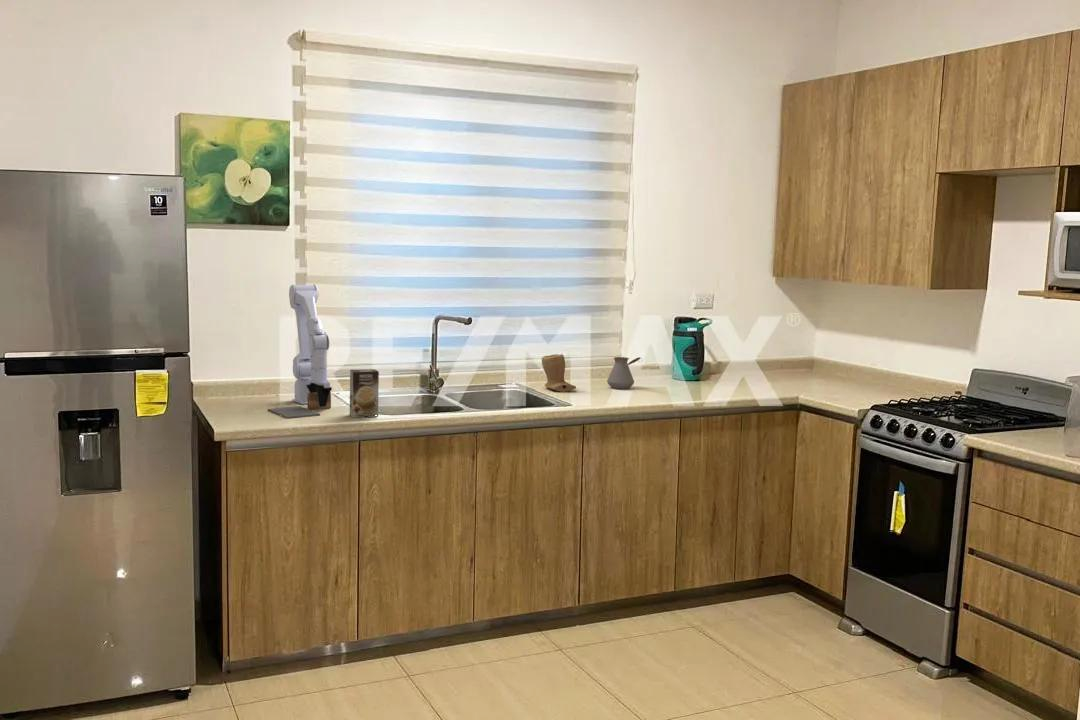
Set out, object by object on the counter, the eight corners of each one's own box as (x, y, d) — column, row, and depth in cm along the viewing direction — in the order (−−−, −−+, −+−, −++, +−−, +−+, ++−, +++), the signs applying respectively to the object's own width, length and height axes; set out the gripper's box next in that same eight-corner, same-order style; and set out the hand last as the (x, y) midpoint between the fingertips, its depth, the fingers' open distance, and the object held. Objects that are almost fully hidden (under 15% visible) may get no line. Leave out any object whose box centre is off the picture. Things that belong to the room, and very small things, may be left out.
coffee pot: (601, 386, 428) (602, 351, 426) (625, 385, 433) (626, 350, 431) (627, 394, 409) (628, 358, 407) (651, 392, 413) (652, 356, 412)
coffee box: (352, 417, 347) (352, 372, 345) (349, 414, 353) (349, 369, 351) (379, 416, 350) (378, 371, 348) (375, 413, 356) (375, 368, 354)
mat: (267, 410, 358) (267, 408, 358) (299, 407, 365) (299, 405, 365) (287, 418, 343) (287, 416, 343) (320, 415, 350) (320, 413, 350)
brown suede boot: (537, 387, 422) (538, 352, 420) (563, 386, 426) (564, 351, 424) (549, 393, 408) (550, 356, 406) (576, 392, 411) (577, 356, 409)
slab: (307, 409, 362) (307, 393, 361) (327, 407, 366) (327, 391, 366) (310, 410, 360) (310, 394, 359) (331, 408, 364) (330, 392, 364)
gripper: (300, 366, 365) (300, 402, 366) (316, 371, 353) (317, 409, 355) (318, 364, 369) (318, 401, 370) (335, 369, 357) (335, 407, 359)
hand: (319, 404), depth 363 cm, fingers open, 6 cm apart
